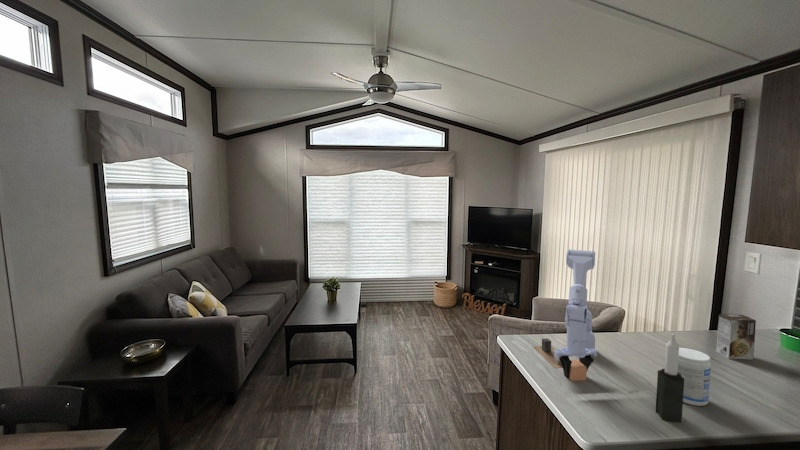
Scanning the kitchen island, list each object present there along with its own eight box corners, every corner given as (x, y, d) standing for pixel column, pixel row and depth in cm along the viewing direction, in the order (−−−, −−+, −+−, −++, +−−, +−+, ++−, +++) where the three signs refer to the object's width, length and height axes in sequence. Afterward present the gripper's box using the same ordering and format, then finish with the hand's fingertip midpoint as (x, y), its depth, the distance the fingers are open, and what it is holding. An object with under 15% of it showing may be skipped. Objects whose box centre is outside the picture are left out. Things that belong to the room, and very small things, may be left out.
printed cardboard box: (739, 352, 139) (742, 314, 138) (754, 360, 133) (757, 320, 132) (715, 351, 140) (717, 313, 139) (728, 359, 134) (731, 319, 133)
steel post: (560, 360, 131) (561, 349, 130) (564, 363, 128) (564, 352, 128) (554, 360, 131) (554, 349, 130) (557, 364, 128) (558, 352, 128)
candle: (683, 423, 97) (689, 338, 95) (663, 420, 98) (668, 336, 96) (673, 412, 102) (678, 331, 100) (653, 410, 103) (658, 329, 101)
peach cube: (577, 375, 122) (577, 359, 122) (586, 383, 117) (586, 367, 117) (563, 376, 122) (563, 360, 122) (571, 384, 117) (572, 367, 116)
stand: (550, 349, 144) (551, 335, 143) (575, 371, 126) (575, 355, 125) (532, 350, 143) (532, 336, 143) (554, 372, 125) (555, 356, 125)
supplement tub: (712, 410, 102) (715, 363, 101) (672, 401, 107) (675, 356, 106) (702, 394, 111) (705, 350, 110) (666, 386, 115) (668, 344, 114)
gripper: (562, 344, 114) (560, 382, 115) (603, 342, 115) (601, 381, 116) (551, 335, 121) (550, 372, 122) (590, 334, 122) (588, 370, 123)
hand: (574, 375), depth 120 cm, fingers closed on peach cube, 5 cm apart
